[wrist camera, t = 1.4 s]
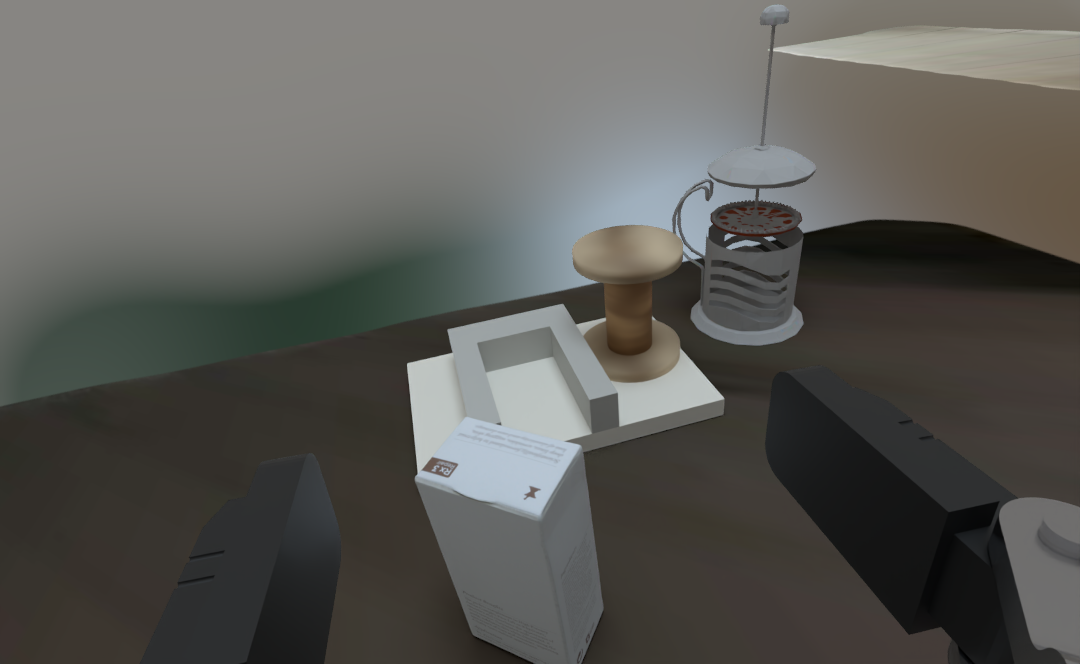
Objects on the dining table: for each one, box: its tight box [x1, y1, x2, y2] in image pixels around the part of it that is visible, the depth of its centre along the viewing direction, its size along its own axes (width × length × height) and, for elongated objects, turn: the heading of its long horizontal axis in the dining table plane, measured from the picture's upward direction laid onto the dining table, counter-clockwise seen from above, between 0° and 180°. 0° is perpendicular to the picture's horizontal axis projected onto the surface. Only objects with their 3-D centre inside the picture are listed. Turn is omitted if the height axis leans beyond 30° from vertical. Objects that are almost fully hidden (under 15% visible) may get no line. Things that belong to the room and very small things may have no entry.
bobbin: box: [572, 225, 683, 383], centre depth 44 cm, size 8×8×10 cm
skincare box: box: [415, 417, 603, 664], centre depth 27 cm, size 6×4×12 cm
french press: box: [672, 4, 816, 346], centre depth 46 cm, size 10×12×25 cm
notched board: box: [407, 304, 725, 473], centre depth 44 cm, size 22×14×4 cm, turn 104°
